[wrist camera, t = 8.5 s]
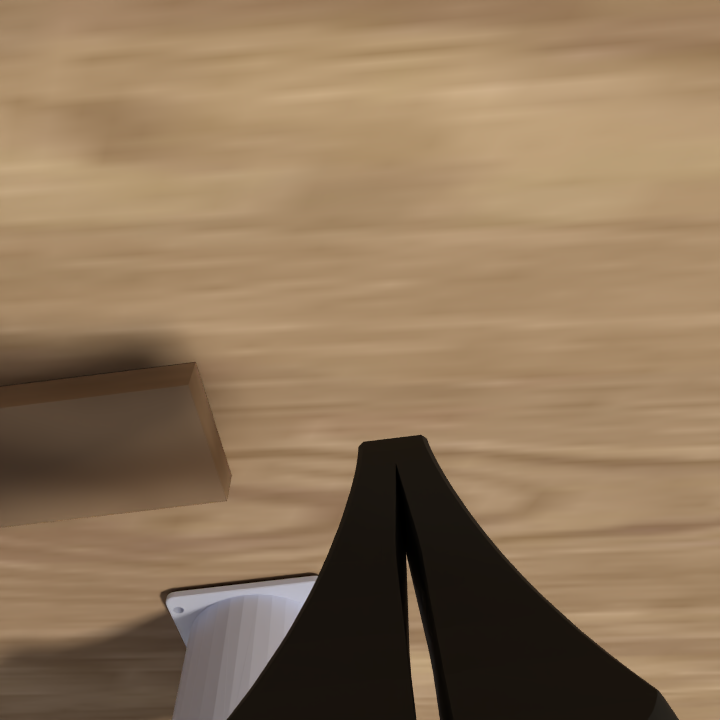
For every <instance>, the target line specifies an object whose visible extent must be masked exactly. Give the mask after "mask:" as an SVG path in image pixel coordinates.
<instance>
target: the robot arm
mask: <svg viewBox="0 0 720 720" xmlns="http://www.w3.org/2000/svg"><path fill="white" fill-rule="evenodd" d="M406 554H407V559H408V563H409V567H410V572H411V576H412V580H413V585H414V589H415V593H416V598H417V602H418V606H419V610H420V615H421V619H422V623H423V628H424V632H425V636H426V640H427V645H428V649H429V654H430V659H431V664H432V669H433V675H434V682H435V688H436V695H437V702H438V709H439V716H440V720H679V719H678V718H677V716H676V715H675V713H674V712H673V710H672V709H671V707H670V706H669V704H668V703H667V701H666V700H665V699H664V697H663V696H662V694H661V693H660V692H659V691H658V690H657V689H656V688H654V687H653V686H651V685H650V684H649V683H647V682H646V681H645V680H643V679H642V678H640V677H639V676H638V675H636V674H635V673H634V672H632V671H631V670H630V669H628V668H627V667H626V666H624V665H623V664H622V663H620V662H619V661H618V660H617V659H615V658H614V657H613V656H611V655H610V654H609V653H607V652H606V651H605V650H604V649H603V648H601V647H600V646H599V645H598V644H597V643H595V642H594V641H593V640H592V639H590V638H589V637H588V636H587V635H586V634H584V633H583V632H582V631H581V630H580V629H578V628H577V627H576V626H575V625H574V624H573V623H572V622H571V621H570V620H569V619H567V618H566V617H565V616H564V615H563V614H562V613H561V612H560V611H559V610H558V609H556V608H555V607H554V606H553V605H552V604H551V603H550V602H549V601H548V600H547V599H545V598H544V597H543V596H542V595H541V594H540V593H539V592H538V591H537V590H536V589H535V588H534V587H533V586H532V585H531V584H530V583H529V582H528V581H527V580H526V579H525V578H524V577H523V576H522V575H521V573H520V572H519V571H518V570H517V569H516V568H515V567H514V566H513V565H512V564H511V563H510V562H509V560H508V559H507V558H506V557H505V556H504V555H503V554H502V552H501V551H500V550H499V549H498V548H497V547H496V545H495V544H494V543H493V542H492V541H491V539H490V538H489V537H488V536H487V534H486V533H485V532H484V531H483V529H482V528H481V527H480V526H479V524H478V523H477V522H476V520H475V519H474V518H473V516H472V515H471V514H470V512H469V511H468V509H467V508H466V506H465V505H464V504H463V502H462V501H461V499H460V498H459V496H458V495H457V493H456V492H455V490H454V489H453V487H452V486H451V484H450V483H449V481H448V480H447V478H446V476H445V474H444V473H443V471H442V469H441V468H440V466H439V464H438V462H437V460H436V458H435V456H434V455H433V452H432V450H431V448H430V446H429V443H428V441H427V439H426V438H425V437H424V436H422V435H416V436H408V437H400V438H391V439H383V440H375V441H366V442H363V443H362V444H361V445H360V446H359V448H358V459H357V465H356V471H355V475H354V479H353V483H352V487H351V491H350V494H349V497H348V501H347V504H346V507H345V510H344V513H343V516H342V519H341V522H340V525H339V528H338V530H337V533H336V535H335V538H334V540H333V543H332V545H331V548H330V550H329V553H328V555H327V558H326V560H325V562H324V564H323V566H322V569H321V571H320V573H319V575H318V576H306V577H298V578H289V579H280V580H272V581H263V582H254V583H245V584H237V585H228V586H219V587H211V588H202V589H193V590H184V591H176V592H171V593H170V594H168V596H167V599H166V605H167V608H168V610H169V612H170V614H171V616H172V618H173V620H174V622H175V624H176V627H177V629H178V631H179V633H180V635H181V637H182V639H183V641H184V644H185V646H186V648H187V649H186V653H185V658H184V663H183V668H182V673H181V678H180V683H179V688H178V693H177V698H176V703H175V708H174V713H173V717H172V720H416V712H415V703H414V695H413V687H412V679H411V667H410V653H409V624H408V596H407V568H406Z"/></svg>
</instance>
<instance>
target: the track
mask: <svg viewBox="0 0 720 720" xmlns="http://www.w3.org/2000/svg"><path fill="white" fill-rule="evenodd" d="M231 477H232V475H231V472H230V469H229V466H228V463H227V459H226V456H225V453H224V450H223V447H222V444H221V441H220V437H219V434H218V431H217V428H216V425H215V422H214V418H213V415H212V412H211V409H210V406H209V403H208V400H207V396H206V393H205V390H204V387H203V384H202V381H201V377H200V374H199V371H198V368H197V365H196V362H194V363H186V364H178V365H170V366H162V367H154V368H146V369H138V370H130V371H122V372H114V373H106V374H98V375H90V376H82V377H74V378H65V379H57V380H49V381H41V382H33V383H25V384H17V385H9V386H1V387H0V528H3V527H12V526H20V525H29V524H37V523H46V522H54V521H63V520H71V519H79V518H88V517H96V516H105V515H113V514H122V513H130V512H139V511H147V510H156V509H164V508H172V507H181V506H189V505H198V504H206V503H215V502H223V501H227V498H228V493H229V488H230V482H231Z"/></svg>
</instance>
